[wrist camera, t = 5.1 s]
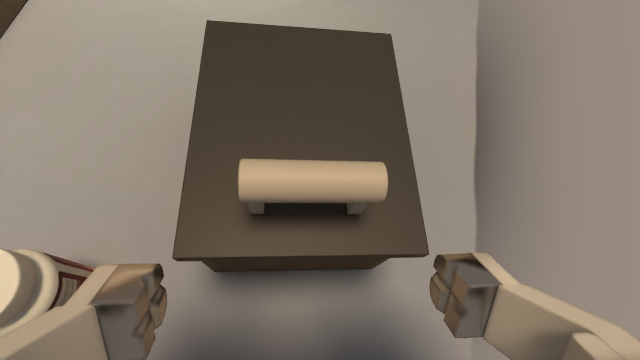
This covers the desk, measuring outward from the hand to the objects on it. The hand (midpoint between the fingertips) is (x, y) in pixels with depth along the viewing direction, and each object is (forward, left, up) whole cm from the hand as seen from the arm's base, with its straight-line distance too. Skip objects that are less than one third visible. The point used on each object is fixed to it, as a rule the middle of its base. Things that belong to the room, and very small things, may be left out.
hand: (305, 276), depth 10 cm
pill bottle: (+1, +15, -17) cm, 23 cm away
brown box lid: (+9, -1, -7) cm, 12 cm away
